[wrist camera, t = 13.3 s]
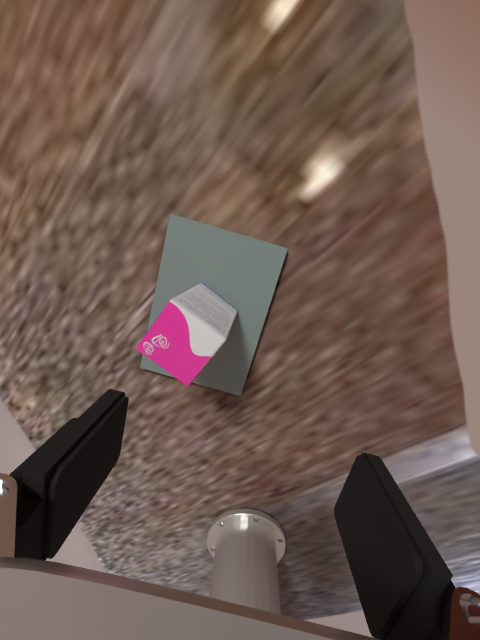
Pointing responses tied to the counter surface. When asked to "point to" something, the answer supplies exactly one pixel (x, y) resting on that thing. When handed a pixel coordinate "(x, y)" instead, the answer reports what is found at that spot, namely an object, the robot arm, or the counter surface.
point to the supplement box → (189, 332)
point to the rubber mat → (219, 291)
